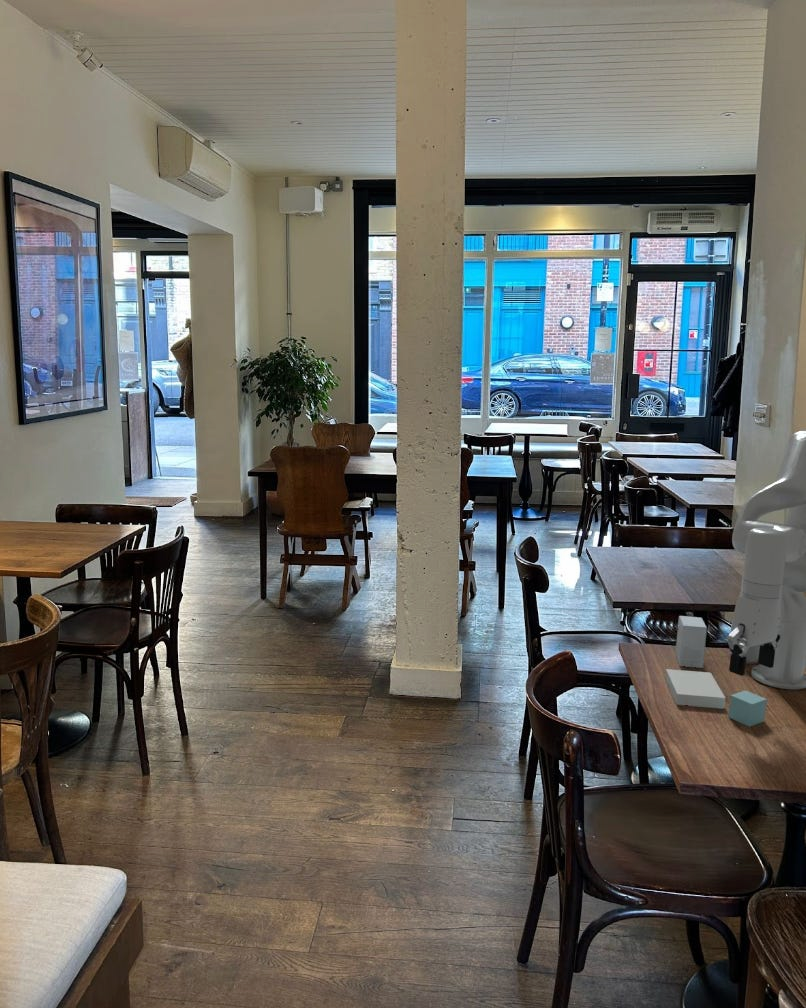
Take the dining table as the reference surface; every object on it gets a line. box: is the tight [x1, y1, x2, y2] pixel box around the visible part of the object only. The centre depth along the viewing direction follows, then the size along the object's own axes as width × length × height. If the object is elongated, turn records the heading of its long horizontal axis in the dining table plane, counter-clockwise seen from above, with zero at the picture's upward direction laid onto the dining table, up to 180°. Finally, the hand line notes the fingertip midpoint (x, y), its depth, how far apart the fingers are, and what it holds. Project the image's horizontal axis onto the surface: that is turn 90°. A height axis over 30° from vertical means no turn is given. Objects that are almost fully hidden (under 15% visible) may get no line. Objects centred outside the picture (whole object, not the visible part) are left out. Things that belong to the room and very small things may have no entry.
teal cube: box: [727, 689, 768, 727], centre depth 170 cm, size 5×5×5 cm
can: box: [729, 640, 760, 665], centre depth 203 cm, size 8×8×12 cm
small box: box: [675, 615, 708, 669], centre depth 200 cm, size 8×6×10 cm
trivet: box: [664, 668, 726, 710], centre depth 182 cm, size 14×10×2 cm
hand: (751, 669), depth 168 cm, fingers open, 9 cm apart
